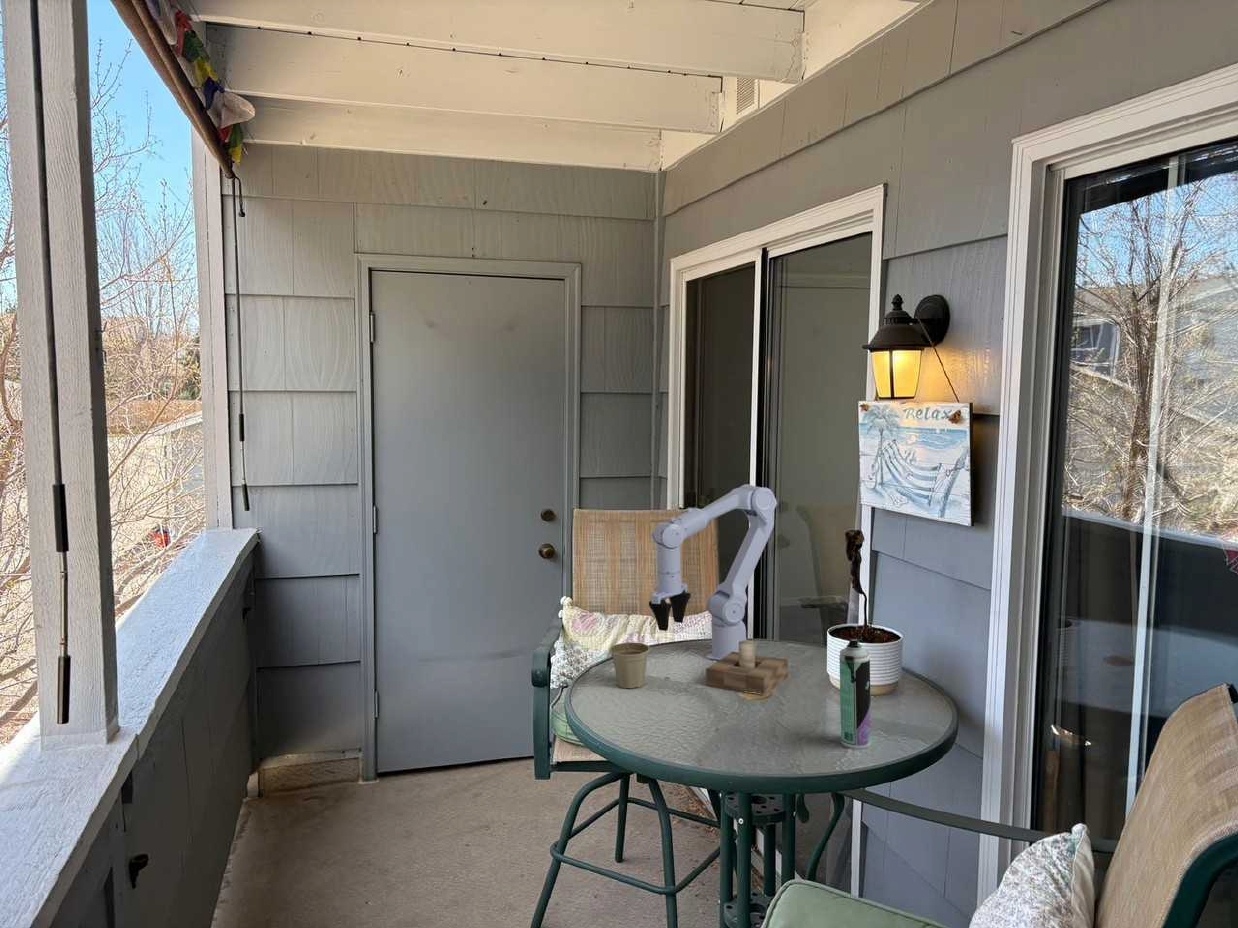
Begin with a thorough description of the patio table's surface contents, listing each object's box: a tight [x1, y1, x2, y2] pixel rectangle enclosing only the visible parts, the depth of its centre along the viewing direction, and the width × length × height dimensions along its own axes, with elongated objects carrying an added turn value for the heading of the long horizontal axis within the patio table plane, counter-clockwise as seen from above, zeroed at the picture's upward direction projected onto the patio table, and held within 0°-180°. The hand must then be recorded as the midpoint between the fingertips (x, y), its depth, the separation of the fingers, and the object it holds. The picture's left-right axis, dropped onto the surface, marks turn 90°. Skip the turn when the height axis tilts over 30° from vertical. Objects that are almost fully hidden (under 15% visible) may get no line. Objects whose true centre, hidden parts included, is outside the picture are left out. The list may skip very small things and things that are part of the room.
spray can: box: [839, 638, 872, 750], centre depth 158 cm, size 6×6×20 cm
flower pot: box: [608, 641, 651, 689], centre depth 195 cm, size 9×9×9 cm
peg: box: [739, 640, 756, 669], centre depth 194 cm, size 4×4×8 cm
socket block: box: [705, 652, 789, 694], centre depth 195 cm, size 14×14×4 cm
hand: (671, 626), depth 207 cm, fingers open, 7 cm apart
